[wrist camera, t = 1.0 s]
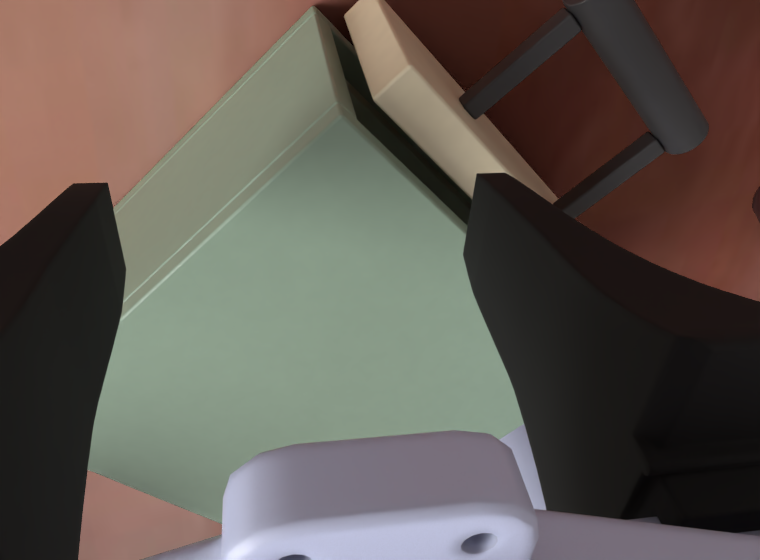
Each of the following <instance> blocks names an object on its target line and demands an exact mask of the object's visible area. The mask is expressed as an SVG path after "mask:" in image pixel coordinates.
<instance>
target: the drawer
mask: <svg viewBox="0 0 760 560" xmlns="http://www.w3.org/2000/svg"><path fill="white" fill-rule="evenodd" d="M562 1H563V4H564V5H565V7H566V8H567V9H565V8H562V9H560V10H559V11H558V12H557V13H556V14H555V15H554V16H552V17H551V18H550V19H549V20H548V21H547V22H545V23H544V24H543V25H542V26H541V27H540V28H539V29H537V30H536V31H535V32H534V33H533V34H532V35H531V36H529V37H528V38H527V39H526V40H525V41H524V42H522V43H521V44H520V45H519V46H518V47H517V48H516V49H514V50H513V51H512V52H511V53H510V54H509V55H507V56H506V57H505V58H504V59H503V60H502V61H501V62H499V63H498V64H497V65H496V66H495V67H494V68H492V69H491V70H490V71H489V72H488V73H487V74H486V75H484V76H483V77H482V78H481V79H480V80H479V81H478V82H476V83H475V84H474V85H473V86H472V87H471V88H469V89H468V90H467V91H466V92H464V91H463V89H462V88H461V87H460V86H459V85H458V84H457V83H456V81H455V80H454V79H453V78H452V77H451V76H450V75H449V73H448V72H447V71H446V70H445V69H444V68H443V67H442V65H441V64H440V63H439V62H438V61H437V60H436V59H435V57H434V56H433V55H432V54H431V53H430V52H429V51H428V49H427V48H426V47H425V46H424V45H423V44H422V43H421V41H420V40H419V39H418V38H417V37H416V36H415V35H414V33H413V32H412V31H411V30H410V29H409V28H408V27H407V25H406V24H405V23H404V22H403V21H402V20H401V19H400V17H399V16H398V15H397V14H396V13H395V12H394V11H393V9H392V8H391V7H390V6H389V5H388V4H387V3H386V1H385V0H359V1H358V2H357V3H356V4H355V5H354V6H353V7H352V8H351V9H350V10H349V11H348V12H347V13H346V14H345V15H344V19H345V21H346V24H347V27H348V30H349V33H350V36H351V39H352V41H353V44H354V47H355V50H356V53H357V56H358V58H359V61H360V64H361V67H362V70H363V73H364V76H365V78H366V81H367V84H368V87H369V90H370V93H371V96H372V98H373V101H374V102H375V103H376V104H377V105H378V106H379V107H380V108H381V109H382V110H383V111H384V112H385V113H386V114H387V115H388V116H389V117H390V118H391V119H392V120H393V121H394V122H395V123H396V124H397V125H398V126H399V127H400V128H401V129H402V130H403V131H404V132H405V133H406V134H407V135H408V136H409V137H410V138H411V139H412V140H413V141H414V142H415V143H416V144H417V145H418V146H419V147H420V148H421V149H422V150H423V151H424V152H425V153H426V154H427V155H428V156H429V157H430V158H431V159H432V160H433V161H434V162H435V163H436V164H437V165H438V166H439V167H440V168H441V169H442V170H443V171H444V172H445V173H446V174H447V175H448V176H449V177H450V178H451V179H452V180H453V181H454V182H455V183H456V184H457V185H458V186H459V187H460V188H461V189H462V190H463V191H464V192H465V193H466V194H467V195H468V196H469V197H470V198H471V199H472V198H473V192H474V186H475V180H476V174H477V173H507V174H509V175H510V176H512V177H514V178H515V179H517V180H518V181H520V182H521V183H523V184H524V185H526V186H527V187H529V188H530V189H531V190H533V191H534V192H536V193H537V194H539V195H540V196H541V197H543V198H544V199H546V200H547V201H549V202H550V203H551V204H553V205H554V206H556V207H557V208H559V209H560V210H561V211H563V212H564V213H566V214H567V215H569V216H570V217H572V218H573V219H575V218H576V217H577V216H579V215H580V214H581V213H583V212H584V211H586V210H587V209H588V208H590V207H591V206H592V205H594V204H595V203H596V202H598V201H599V200H600V199H602V198H603V197H604V196H606V195H607V194H609V193H610V192H611V191H613V190H614V189H615V188H617V187H618V186H619V185H621V184H622V183H623V182H625V181H626V180H627V179H629V178H630V177H631V176H633V175H634V174H636V173H637V172H638V171H640V170H641V169H642V168H644V167H645V166H646V165H648V164H649V163H650V162H652V161H653V160H654V159H656V158H657V157H659V156H660V155H661V154H663V153H664V151H665V152H667V153H669V154H682V153H685V152H688V151H690V150H692V149H694V148H695V147H697V146H698V145H699V144H700V143H701V142H702V141H703V140H704V139H705V137H706V136H707V134H708V130H709V124H708V122H707V120H706V119H705V117H704V115H703V114H702V112H701V110H700V109H699V107H698V105H697V104H696V102H695V100H694V99H693V97H692V95H691V94H690V92H689V90H688V89H687V87H686V85H685V84H684V82H683V80H682V79H681V77H680V75H679V74H678V72H677V70H676V69H675V67H674V65H673V64H672V62H671V60H670V59H669V57H668V55H667V54H666V52H665V50H664V49H663V47H662V45H661V44H660V42H659V41H658V39H657V37H656V36H655V34H654V32H653V31H652V29H651V27H650V26H649V24H648V22H647V21H646V19H645V17H644V16H643V14H642V12H641V11H640V9H639V7H638V6H637V4H636V2H635V1H634V0H562ZM581 30H582V32H583V33H584V35H585V36H586V38H587V39H588V41H589V42H590V44H591V45H592V46H593V48H594V49H595V51H596V52H597V54H598V55H599V57H600V58H601V60H602V61H603V63H604V64H605V66H606V67H607V68H608V70H609V71H610V73H611V74H612V76H613V77H614V79H615V80H616V82H617V83H618V85H619V86H620V87H621V89H622V90H623V92H624V93H625V95H626V96H627V98H628V99H629V101H630V102H631V104H632V105H633V107H634V108H635V109H636V111H637V112H638V114H639V115H640V117H641V118H642V120H643V121H644V123H645V124H646V126H647V127H648V129H649V130H650V131H651V133H652V134H653V135H652V134H651V133H650V132H646V133H645V134H644V135H642V136H641V137H640V138H638V139H637V140H636V141H634V142H633V143H632V144H631V145H629V146H628V147H627V148H625V149H624V150H623V151H621V152H620V153H619V154H617V155H616V156H615V157H613V158H612V159H611V160H609V161H608V162H607V163H605V164H604V165H603V166H601V167H600V168H599V169H598V170H596V171H595V172H594V173H592V174H591V175H590V176H588V177H587V178H586V179H584V180H583V181H582V182H580V183H579V184H578V185H576V186H575V187H574V188H572V189H571V190H570V191H569V192H567V193H566V194H565V195H563V196H562V197H561V198H559V199H558V198H557V197H556V196H555V194H554V193H553V192H552V191H551V190H550V189H549V188H548V186H547V185H546V184H545V183H544V182H543V181H542V180H541V178H540V177H539V176H538V175H537V174H536V173H535V172H534V170H533V169H532V168H531V167H530V166H529V165H528V164H527V162H526V161H525V160H524V159H523V158H522V157H521V156H520V154H519V153H518V152H517V151H516V150H515V149H514V148H513V146H512V145H511V144H510V143H509V142H508V141H507V140H506V138H505V137H504V136H503V135H502V134H501V133H500V132H499V130H498V129H497V128H496V127H495V126H494V125H493V124H492V122H491V121H490V120H489V119H488V118H487V117H486V116H485V114H484V113H485V112H486V111H487V110H488V109H489V108H491V107H492V106H493V105H494V104H495V103H496V102H498V101H499V100H500V99H501V98H502V97H504V96H505V95H506V94H507V93H508V92H509V91H511V90H512V89H513V88H514V87H515V86H517V85H518V84H519V83H520V82H521V81H522V80H524V79H525V78H526V77H527V76H528V75H530V74H531V73H532V72H533V71H534V70H535V69H537V68H538V67H539V66H540V65H541V64H543V63H544V62H545V61H546V60H547V59H549V58H550V57H551V56H552V55H553V54H554V53H556V52H557V51H558V50H559V49H560V48H562V47H563V46H564V45H565V44H566V43H567V42H569V41H570V40H571V39H572V38H573V37H575V36H576V35H577V34H578V33H579V32H580V31H581ZM345 80H346V79H345ZM346 83H347V86H348V90H349V93H350V97H351V100H352V104H353V107H354V110H355V114H356V117H357V120H358V121H359V122H360V123H361V124H362V125H363V126H364V127H365V128H366V129H367V130H368V131H369V132H370V133H371V134H372V135H373V136H374V137H376V138H377V139H378V140H379V141H380V142H381V143H382V144H383V145H384V146H385V147H386V148H387V149H388V150H389V151H390V152H391V153H392V154H393V155H394V156H395V157H396V158H397V159H398V160H399V161H401V162H402V163H403V164H404V165H405V166H406V167H407V168H408V169H409V170H410V171H411V172H412V173H413V174H414V175H415V176H416V177H417V178H418V179H419V180H420V181H421V182H422V183H423V184H424V185H426V186H427V187H428V188H429V189H430V190H431V191H432V192H433V193H434V194H435V195H436V196H437V197H438V198H439V199H440V200H441V201H442V202H443V203H444V204H445V205H446V206H447V207H448V208H449V209H451V210H452V211H453V212H454V213H455V214H456V215H457V216H458V217H459V218H460V219H461V220H462V221H463V222H464V223H465V224H466V225H467V226H468V221H469V215H470V209H471V204H470V203H469V202H468V201H467V200H466V199H465V198H464V197H463V196H462V195H461V194H460V193H459V192H458V191H457V190H456V189H455V188H454V187H453V186H452V185H451V184H450V183H449V182H448V181H447V180H446V179H445V178H444V177H443V176H442V175H441V174H440V173H439V172H438V171H437V170H436V169H435V168H434V167H433V166H432V165H431V164H430V163H429V162H428V161H427V160H426V159H425V158H424V157H423V156H422V155H421V154H420V153H419V152H418V151H417V150H416V149H415V148H414V147H413V146H412V145H411V144H410V143H409V142H408V141H407V140H406V139H405V138H404V137H403V136H402V135H401V134H400V133H399V132H398V131H397V130H396V129H395V128H394V127H393V126H392V125H391V124H390V123H389V122H388V121H387V120H386V119H385V118H384V117H383V116H382V115H381V114H380V113H379V112H378V111H377V110H376V109H375V108H374V107H373V106H372V105H371V104H370V103H369V102H368V101H367V100H366V99H365V98H364V97H363V96H362V95H361V94H360V93H359V92H358V91H357V90H356V89H355V88H354V87H353V86H352V85H351V84H350V83H349V82H348V81H347V80H346Z"/></svg>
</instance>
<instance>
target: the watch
mask: <svg viewBox="0 0 760 560" xmlns="http://www.w3.org/2000/svg"><path fill="white" fill-rule="evenodd" d="M752 208H753V211H754V213H755V214H756V217H757V218H758V220H759V222H760V187H759V188H758V189H757V191H756V193H755V194H754V197H753V203H752Z"/></svg>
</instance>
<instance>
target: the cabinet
mask: <svg viewBox="0 0 760 560" xmlns="http://www.w3.org/2000/svg"><path fill="white" fill-rule="evenodd" d="M345 79H346V80H347V81H348V82H349V83H350V84H351V85H352V86H353V87H354V88H355V89H356V90H357V91H358V92H359V93H360V94H361V95H362V96H363V97H364V98H365V99H366V100H367V101H368V102H369V103H370V104H371V105H372V106H373V107H374V108H375V109H376V110H377V111H378V112H379V113H380V114H381V115H382V116H383V117H384V118H385V119H386V120H387V121H388V122H389V123H390V124H391V125H392V126H393V127H394V128H395V129H396V130H397V131H398V132H399V133H400V134H401V135H402V136H403V137H404V138H405V139H406V140H407V141H408V142H409V143H410V144H411V145H412V146H413V147H414V148H415V149H416V150H417V151H418V152H419V153H420V154H421V155H422V156H423V157H424V158H425V159H426V160H427V161H428V162H429V163H430V164H431V165H432V166H433V167H434V168H435V169H436V170H437V171H438V172H439V173H440V174H441V175H442V176H443V177H444V178H445V179H446V180H447V181H448V182H449V183H450V184H451V185H452V186H453V187H454V188H455V189H456V190H457V191H458V192H459V193H460V194H461V195H462V196H463V197H464V198H465V199H466V200H467V201H468V202H469V203H470V204H472V199H471V198H470V197H469V196H468V195H467V194H466V193H465V192H464V191H463V190H462V189H461V188H460V187H459V186H458V185H457V184H456V183H455V182H454V181H453V180H452V179H451V178H450V177H449V176H448V175H447V174H446V173H445V172H444V171H443V170H442V169H441V168H440V167H439V166H438V165H437V164H436V163H435V162H434V161H433V160H432V159H431V158H430V157H429V156H428V155H427V154H426V153H425V152H424V151H423V150H422V149H421V148H420V147H419V146H418V145H417V144H416V143H415V142H414V141H413V140H412V139H411V138H410V137H409V136H408V135H407V134H406V133H405V132H404V131H403V130H402V129H401V128H400V127H399V126H398V125H397V124H396V123H395V122H394V121H393V120H392V119H391V118H390V117H389V116H388V115H387V114H386V113H385V112H384V111H383V110H382V109H381V108H380V107H379V106H378V105H377V104H376V103H375V102H374V101H373V98H372V96H371V93H370V90H369V87H368V84H367V81H366V78H365V76H364V73H363V70H362V67H361V64H360V61H359V58H358V56H357V53H356V50H355V47H354V46H353V45H352V44H351V43H350V42H349V41H348V40H347V39H346V38H345V37H344V36H343V35H342V34H341V33H340V32H339V31H338V30H337V29H336V28H335V27H334V26H333V24H332V23H331V22H330V21H329V20H328V19H327V18H326V17H325V16H324V15H323V14H322V13H321V12H320V11H319V10H318V9H317V8H316V7H315V6H312V7H311V8H310V9H309V10H308V11H307V12H306V13H305V14H304V15H303V16H302V17H301V18H300V19H299V20H298V21H297V22H296V23H295V24H294V25H293V26H292V27H291V28H290V29H289V30H288V31H287V32H286V33H285V34H284V35H283V36H282V37H281V38H280V39H279V40H278V41H277V42H276V43H275V44H274V45H273V46H272V47H271V48H270V49H269V50H268V51H267V52H266V53H265V54H264V55H263V56H262V57H261V58H260V59H259V60H258V61H257V62H256V63H255V65H254V66H253V67H252V68H251V69H250V70H249V71H248V72H247V73H246V74H245V75H244V76H243V77H242V78H241V79H240V80H239V81H238V82H237V83H236V84H235V85H234V86H233V87H232V88H231V89H230V90H229V91H228V92H227V93H226V94H225V95H224V96H223V97H222V98H221V99H220V100H219V101H218V102H217V103H216V104H215V105H214V106H213V107H212V108H211V109H210V110H209V111H208V112H207V113H206V114H205V115H204V116H203V117H202V118H201V119H200V120H199V122H198V123H197V124H196V125H195V126H194V127H193V128H192V129H191V130H190V131H189V132H188V133H187V134H186V135H185V136H184V137H183V138H182V139H181V140H180V141H179V142H178V143H177V144H176V145H175V146H174V147H173V148H172V149H171V150H170V151H169V152H168V153H167V154H166V155H165V156H164V157H163V158H162V159H161V160H160V161H159V162H158V163H157V164H156V165H155V166H154V167H153V168H152V169H151V170H150V171H149V172H148V173H147V174H146V175H145V176H144V178H143V179H142V180H141V181H140V182H139V183H138V184H137V185H136V186H135V187H134V188H133V189H132V190H131V191H130V192H129V193H128V194H127V195H126V196H125V197H124V198H123V199H122V200H121V201H120V202H119V203H118V204H117V205H116V206H115V207H114V208H113V210H114V215H115V219H116V224H117V229H118V233H119V238H120V242H121V247H122V252H123V256H124V261H125V265H126V278H125V289H124V298H123V307H122V314H121V318H120V322H119V326H118V330H117V334H116V338H115V342H114V345H113V349H112V353H111V357H110V360H109V364H108V368H107V372H106V376H105V379H104V383H103V387H102V391H101V394H100V398H99V402H98V406H97V411H96V416H95V420H94V425H93V432H92V440H91V447H90V454H89V462H88V469H87V470H90V471H92V472H95V473H97V474H100V475H102V476H105V477H107V478H109V479H112V480H114V481H117V482H119V483H122V484H124V485H127V486H129V487H132V488H134V489H137V490H139V491H142V492H144V493H147V494H149V495H151V496H154V497H156V498H159V499H161V500H164V501H166V502H169V503H171V504H174V505H176V506H179V507H181V508H184V509H186V510H188V511H191V512H193V513H196V514H198V515H201V516H203V517H206V518H208V519H211V520H213V521H216V522H218V523H221V524H222V511H223V496H224V492H225V489H226V486H227V483H228V480H229V477H230V474H232V473H233V472H234V471H236V470H237V469H239V468H240V467H241V466H243V465H244V464H245V463H247V462H248V461H249V460H251V459H252V458H253V457H255V456H256V455H258V454H259V453H261V452H265V451H269V450H273V449H277V448H281V447H285V446H289V445H293V444H300V443H312V442H323V441H335V440H346V439H358V438H369V437H381V436H392V435H404V434H415V433H427V432H438V431H450V430H459V431H470V432H480V433H487V434H491V435H493V436H494V437H496V438H497V439H498V440H499V439H501V438H503V437H504V436H506V435H507V434H509V433H510V432H512V431H514V430H515V429H517V428H518V427H520V426H521V425H523V424H524V422H523V418H522V415H521V412H520V408H519V405H518V402H517V398H516V395H515V392H514V389H513V386H512V384H511V381H510V379H509V376H508V373H507V371H506V369H505V366H504V364H503V362H502V360H501V357H500V355H499V353H498V350H497V348H496V346H495V344H494V341H493V339H492V337H491V334H490V332H489V330H488V328H487V325H486V323H485V321H484V318H483V316H482V314H481V311H480V309H479V306H478V304H477V302H476V299H475V297H474V294H473V291H472V288H471V284H470V281H469V277H468V273H467V269H466V265H465V261H464V257H463V251H464V245H465V239H466V233H467V227H468V226H467V225H466V224H465V223H464V222H463V221H462V220H461V219H460V218H459V217H458V216H457V215H456V214H455V213H454V212H453V211H452V210H451V209H449V208H448V207H447V206H446V205H445V204H444V203H443V202H442V201H441V200H440V199H439V198H438V197H437V196H436V195H435V194H434V193H433V192H432V191H431V190H430V189H429V188H428V187H427V186H426V185H424V184H423V183H422V182H421V181H420V180H419V179H418V178H417V177H416V176H415V175H414V174H413V173H412V172H411V171H410V170H409V169H408V168H407V167H406V166H405V165H404V164H403V163H402V162H401V161H399V160H398V159H397V158H396V157H395V156H394V155H393V154H392V153H391V152H390V151H389V150H388V149H387V148H386V147H385V146H384V145H383V144H382V143H381V142H380V141H379V140H378V139H377V138H376V137H374V136H373V135H372V134H371V133H370V132H369V131H368V130H367V129H366V128H365V127H364V126H363V125H362V124H361V123H360V122H359V121H358V120H357V117H356V114H355V110H354V107H353V104H352V100H351V97H350V93H349V90H348V86H347V83H346V80H345Z"/></svg>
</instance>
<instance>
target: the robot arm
mask: <svg viewBox="0 0 760 560" xmlns="http://www.w3.org/2000/svg"><path fill="white" fill-rule="evenodd" d="M463 257H464V261H465V265H466V269H467V273H468V277H469V281H470V284H471V288H472V291H473V294H474V297H475V299H476V302H477V304H478V306H479V309H480V311H481V314H482V316H483V318H484V321H485V323H486V325H487V328H488V330H489V332H490V334H491V337H492V339H493V341H494V344H495V346H496V348H497V350H498V353H499V355H500V357H501V360H502V362H503V364H504V366H505V369H506V371H507V373H508V376H509V379H510V381H511V384H512V386H513V389H514V392H515V395H516V398H517V402H518V405H519V408H520V412H521V415H522V418H523V422H524V424H523V425H521V426H520V427H518V428H517V429H515V430H514V431H512V432H510V433H509V434H507V435H506V436H504V437H503V438H501V439H499V440H498V439H497V438H496V437H494V436H493V435H491V434H487V433H480V432H470V431H459V430H450V431H438V432H427V433H415V434H404V435H392V436H381V437H369V438H358V439H346V440H335V441H323V442H312V443H300V444H293V445H289V446H285V447H281V448H277V449H273V450H269V451H265V452H261V453H259V454H258V455H256V456H255V457H253V458H252V459H251V460H249V461H248V462H247V463H245V464H244V465H243V466H241V467H240V468H239V469H237V470H236V471H234V472H233V473H232V474H230V477H229V480H228V483H227V486H226V489H225V492H224V496H223V511H222V534H221V535H218V536H215V537H212V538H208V539H205V540H202V541H199V542H196V543H192V544H189V545H186V546H183V547H179V548H176V549H173V550H170V551H167V552H163V553H160V554H157V555H154V556H151V557H147V558H144V559H141V560H760V302H759V301H755V300H752V299H748V298H745V297H742V296H738V295H735V294H732V293H729V292H725V291H722V290H719V289H716V288H714V287H711V286H708V285H705V284H702V283H699V282H697V281H694V280H692V279H689V278H687V277H684V276H682V275H679V274H676V273H674V272H671V271H669V270H667V269H664V268H662V267H660V266H658V265H655V264H653V263H651V262H649V261H647V260H645V259H643V258H641V257H639V256H637V255H635V254H633V253H631V252H629V251H627V250H625V249H623V248H621V247H619V246H618V245H616V244H614V243H612V242H610V241H609V240H607V239H605V238H604V237H602V236H600V235H599V234H597V233H595V232H594V231H592V230H590V229H589V228H587V227H586V226H584V225H583V224H581V223H579V222H578V221H576V220H575V219H573V218H572V217H570V216H569V215H567V214H566V213H564V212H563V211H561V210H560V209H559V208H557V207H556V206H554V205H553V204H551V203H550V202H549V201H547V200H546V199H544V198H543V197H541V196H540V195H539V194H537V193H536V192H534V191H533V190H531V189H530V188H529V187H527V186H526V185H524V184H523V183H521V182H520V181H518V180H517V179H515V178H514V177H512V176H510V175H509V174H507V173H477V174H476V180H475V186H474V192H473V198H472V204H471V209H470V215H469V221H468V227H467V233H466V239H465V245H464V251H463ZM125 278H126V265H125V261H124V256H123V252H122V247H121V242H120V238H119V233H118V229H117V224H116V219H115V215H114V210H113V205H112V201H111V196H110V192H109V187H108V183H77V184H72V185H71V186H70V187H69V188H67V189H66V190H65V191H64V192H63V193H61V194H60V195H59V196H58V197H57V198H56V199H55V200H54V201H52V202H51V203H50V204H49V205H48V206H47V207H46V208H45V209H44V210H43V211H41V212H40V213H39V214H38V215H37V216H36V217H35V218H33V219H32V220H31V221H30V222H29V223H28V224H27V225H25V226H24V227H23V228H22V229H21V230H20V231H18V232H17V233H16V234H15V235H14V236H13V237H11V238H10V239H9V240H8V241H6V242H5V243H4V244H2V245H1V246H0V560H78V553H79V543H80V532H81V522H82V512H83V503H84V495H85V486H86V478H87V469H88V462H89V454H90V447H91V440H92V432H93V425H94V420H95V416H96V411H97V406H98V402H99V398H100V394H101V391H102V387H103V383H104V379H105V376H106V372H107V368H108V364H109V360H110V357H111V353H112V349H113V345H114V342H115V338H116V334H117V330H118V326H119V322H120V318H121V314H122V307H123V298H124V289H125Z"/></svg>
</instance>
